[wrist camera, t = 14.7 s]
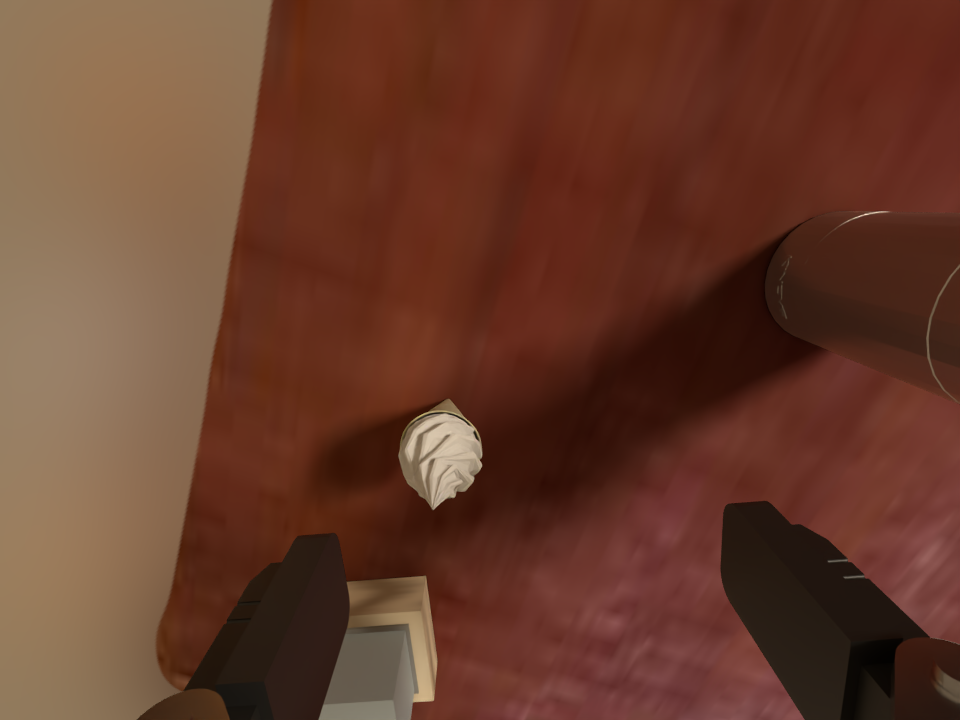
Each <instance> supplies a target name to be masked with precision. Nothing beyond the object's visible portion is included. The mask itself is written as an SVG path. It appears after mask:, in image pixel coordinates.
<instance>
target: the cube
mask: <svg viewBox="0 0 960 720" xmlns="http://www.w3.org/2000/svg"><path fill="white" fill-rule="evenodd" d="M413 697H414V684H413V678H412V671H411V665H410V658H409V652H408V645H407V639H406V632H405V630H402V631H388V632H374V633H360V634H346V635H345V637H344V640H343V643H342V646H341V650H340V653H339V656H338V659H337V662H336V666H335V669H334V672H333V675H332V678H331V682H330V685H329V688H328V691H327V694H326V698H325V701H324V704H323V707H322V711H321V714H320V717H319V720H411V712H412V704H413Z"/></svg>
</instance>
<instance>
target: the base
mask: <svg viewBox="0 0 960 720" xmlns="http://www.w3.org/2000/svg"><path fill="white" fill-rule="evenodd" d="M347 586H348V592H349V599H350V613H349V622H348V627H347V630H346V633H345V635H346V634H360V633H374V632H388V631H402V630H405V632H406V639H407V645H408V652H409V658H410V665H411V671H412V678H413V684H414V697H413V702H424V701H434V693H435V682H436V671H437V654H436V646H435V639H434V632H433V624H432V617H431V610H430V602H429V595H428V588H427V580H426V576H417V577H404V578H391V579H377V580H364V581H351V582H347Z"/></svg>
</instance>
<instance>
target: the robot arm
mask: <svg viewBox="0 0 960 720" xmlns="http://www.w3.org/2000/svg"><path fill="white" fill-rule="evenodd" d="M765 298H766V301H767V305H768V309H769V311H770V313H771V315H772V316H773V318H774V320H775V321H776V322H777V323H778V324H779V326H780V327H781V328H782V329H783V330H785V331H787V332H788V333H790V334H791V335H793V336H795V337H797V338H800V339H802V340H805V341H807V342H810V343H812V344H814V345H817V346H819V347H822V348H824V349H826V350H829V351H831V352H833V353H836V354H838V355H841V356H843V357H845V358H848V359H850V360H853V361H855V362H858V363H860V364H863V365H865V366H867V367H870V368H872V369H875V370H877V371H880V372H882V373H884V374H887V375H889V376H892V377H894V378H897V379H899V380H902V381H904V382H906V383H909V384H911V385H914V386H916V387H919V388H921V389H924V390H926V391H928V392H931V393H933V394H936V395H938V396H941V397H943V398H945V399H948V400H950V401H953V402H955V403H958V404H960V213H922V212H870V211H841V212H830V213H826V214H823V215H820V216H816V217H814V218H812V219H810V220H808V221H806V222H804V223H803V224H801V225H800V226H799V227H797V228H796V229H795V230H794V231H792V232H791V233H790V234H789V235H788V236H787V237H786V238H785V239H784V241H783V242H782V243H781V244H780V245H779V247H778V249H777V250H776V252H775V254H774V255H773V257H772V259H771V262H770V264H769V267H768V270H767V274H766V280H765ZM721 578H722V583H723V586H724V590H725V592H726V595H727V597H728V599H729V601H730V603H731V604H732V606H733V608H734V609H735V611H736V612H737V614H738V615H739V617H740V619H741V620H742V622H743V623H744V625H745V626H746V628H747V630H748V631H749V633H750V634H751V636H752V637H753V639H754V641H755V642H756V644H757V645H758V647H759V648H760V650H761V652H762V653H763V655H764V656H765V658H766V659H767V661H768V663H769V664H770V666H771V667H772V669H773V670H774V672H775V674H776V675H777V677H778V678H779V680H780V681H781V683H782V685H783V686H784V688H785V689H786V691H787V692H788V694H789V696H790V697H791V699H792V700H793V702H794V703H795V705H796V707H797V708H798V710H799V711H800V713H801V714H802V716H803V718H804V719H805V720H960V645H959V644H957V643H953V642H950V641H946V640H942V639H936V638H930V637H929V636H928V635H927V634H926V633H925V632H924V631H923V630H922V629H921V628H920V627H919V626H918V625H917V624H916V623H915V622H914V621H913V620H911V619H910V618H909V617H908V616H907V615H906V614H905V613H904V612H903V611H902V610H901V609H900V608H899V607H898V606H897V605H896V604H895V603H894V602H893V601H892V600H890V599H889V598H888V597H887V596H886V595H885V594H884V593H883V592H882V591H881V590H880V589H879V588H878V587H877V586H876V585H875V584H874V583H873V582H872V581H871V580H869V579H865V577H864V574H863V573H862V572H861V571H860V570H859V569H858V568H857V567H856V566H855V565H854V564H853V563H852V562H848V560H847V558H846V557H845V556H844V555H843V554H842V553H841V552H840V551H839V550H838V549H837V548H836V547H835V546H834V545H833V544H832V543H831V542H830V541H828V540H827V539H826V538H824V537H822V536H820V535H818V534H817V533H815V532H813V531H811V530H809V529H808V528H806V527H804V526H802V525H800V524H797V525H791V524H790V523H789V522H788V521H787V519H786V518H785V517H784V516H783V515H782V514H781V513H780V512H779V511H778V510H777V509H776V508H775V507H774V506H773V505H772V504H770V503H769V502H767V501H758V502H745V503H732V504H727V505H726V506H725V509H724V513H723V530H722V550H721ZM349 613H350V599H349V592H348V586H347V581H346V576H345V570H344V565H343V560H342V554H341V549H340V544H339V540H338V537H337V535H336V534H335V533H328V534H315V535H302V536H298V537H297V538H296V539H295V540H294V542H293V544H292V546H291V547H290V549H289V551H288V553H287V555H286V556H285V558H284V560H283V562H281V563H271V564H270V565H268V566H267V567H266V568H265V569H264V570H263V571H262V572H261V573H259V574H258V575H257V576H256V577H255V578H254V579H253V580H251V581H250V583H249V584H248V586H247V588H246V589H245V591H244V593H243V594H242V596H241V597H240V599H239V601H238V605H237V606H236V607H234V609H233V611H232V612H231V614H230V616H229V617H228V619H227V624H224V625H223V627H222V629H221V630H220V632H219V634H218V635H217V637H216V639H215V640H214V642H213V643H212V645H211V647H210V648H209V650H208V652H207V653H206V655H205V657H204V658H203V660H202V662H201V663H200V665H199V666H198V668H197V670H196V671H195V673H194V675H193V676H192V678H191V680H190V681H189V683H188V684H187V686H186V688H185V689H184V691H182V692H180V693H177V694H174V695H172V696H170V697H168V698H166V699H164V700H162V701H161V702H159V703H157V704H155V705H154V706H153V707H151V708H150V709H148V710H147V711H146V712H145V713H144V714H142V715H141V716H140V717H139V718H138V719H137V720H319V717H320V714H321V711H322V707H323V704H324V701H325V698H326V694H327V691H328V688H329V685H330V682H331V678H332V675H333V672H334V669H335V666H336V662H337V659H338V656H339V653H340V650H341V646H342V643H343V640H344V637H345V633H346V630H347V627H348V622H349Z"/></svg>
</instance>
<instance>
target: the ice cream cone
mask: <svg viewBox="0 0 960 720" xmlns="http://www.w3.org/2000/svg"><path fill="white" fill-rule="evenodd" d="M398 456H399V460H400V464H401V467H402V471H403V475H404V477H405V479H406V481H407V484H409V485H410V486H411V487H412V488H414V489H415V490H416V491H417V492H418V493H419V496H420V497H422V498H424V499H426V501H427V502H428V503H429V505H430V506H431V508H432V509H433V510H434V509H435V508H436V507H437V506H438V505H439V504H440V503H441V502H443V501H444V500H445V499H446V498H454V497H455V496H456V491H459V492H463V491H466V490H467V489H468V488H469V486H470V485H471V484H472V483H473V482H474V477H473V476H474V475H475V474H477V473H478V472H479V471H480V469H481V467H482V464H481V462H480V458H482V445H481V439H480V436H479V434H478V432H477V430H476V429H475V427H474V426H473V425H472V424H471V422H469V421H468V420H467V419H466V418H464V416H463V415H462V414H461V412H460V411H459V410H458V409H457V407H456V406H455V405H454V404H453V402H452V401H451V400H450V399H446V400H444V401H443V402H442V403H440V404H439V405H437V406H436V407H434V408H433V409H431V410H430V411H428V412H427V413H424V414H422V415H420V416H418V417H416V418H415V419H414V420H412V421H411V422H410V423H409V425H408V426H407V427H406V429H405V430H404V432H403V434H402V437H401V442H400V451H399V454H398Z"/></svg>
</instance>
